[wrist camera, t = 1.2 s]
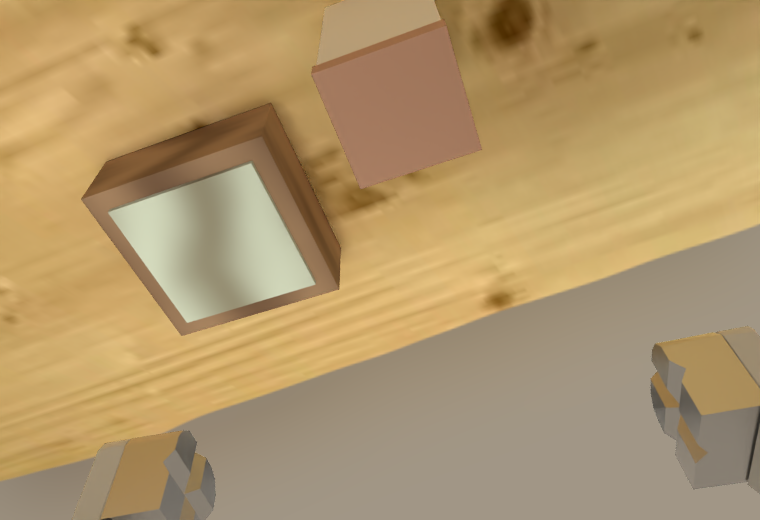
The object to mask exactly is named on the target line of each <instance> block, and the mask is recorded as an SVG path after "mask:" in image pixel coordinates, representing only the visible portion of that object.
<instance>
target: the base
mask: <svg viewBox="0 0 760 520" xmlns="http://www.w3.org/2000/svg"><path fill="white" fill-rule="evenodd" d="M81 200H82V201H83V203H84V204H85V205H86V207H87V208H88V209H89V211H90V212H91V214H92V215H93V216H94V218H95V219H96V220H97V222H98V223H99V224H100V226H101V227H102V229H103V230H104V231H105V233H106V234H107V235H108V237H109V238H110V239H111V241H112V242H113V243H114V245H115V246H116V248H117V249H118V250H119V252H120V253H121V254H122V256H123V257H124V258H125V260H126V261H127V262H128V264H129V265H130V267H131V268H132V269H133V271H134V272H135V273H136V275H137V276H138V277H139V279H140V280H141V281H142V283H143V284H144V286H145V287H146V288H147V290H148V291H149V292H150V294H151V295H152V296H153V298H154V299H155V301H156V302H157V303H158V305H159V306H160V307H161V309H162V310H163V311H164V313H165V314H166V315H167V317H168V318H169V320H170V321H171V322H172V324H173V325H174V326H175V328H176V329H177V330H178V332H179V333H180V334H181V336H183V335H187V334H190V333H193V332H197V331H200V330H203V329H207V328H210V327H214V326H217V325H220V324H224V323H227V322H230V321H234V320H237V319H241V318H244V317H247V316H251V315H254V314H258V313H261V312H264V311H268V310H271V309H274V308H278V307H281V306H285V305H288V304H291V303H295V302H298V301H301V300H305V299H308V298H312V297H315V296H318V295H322V294H325V293H328V292H332V291H335V290H339V282H340V256H341V248H340V246H339V244H338V241H337V239H336V237H335V235H334V233H333V231H332V229H331V227H330V225H329V223H328V221H327V219H326V217H325V214H324V212H323V210H322V208H321V206H320V204H319V202H318V200H317V198H316V196H315V194H314V192H313V189H312V187H311V185H310V183H309V181H308V179H307V177H306V175H305V173H304V171H303V169H302V167H301V165H300V162H299V160H298V158H297V156H296V154H295V152H294V150H293V148H292V146H291V144H290V142H289V140H288V138H287V135H286V133H285V131H284V129H283V127H282V125H281V123H280V121H279V119H278V117H277V115H276V113H275V110H274V108H273V106H272V104H271V103H269V104H267V105H264V106H261V107H258V108H255V109H253V110H250V111H247V112H244V113H241V114H239V115H236V116H233V117H230V118H227V119H225V120H222V121H219V122H216V123H213V124H211V125H208V126H205V127H202V128H199V129H197V130H194V131H191V132H188V133H186V134H183V135H180V136H177V137H174V138H172V139H169V140H166V141H163V142H160V143H158V144H155V145H152V146H149V147H146V148H144V149H141V150H138V151H135V152H132V153H130V154H127V155H124V156H121V157H118V158H116V159H113V160H110V161H107V162H106V163H105V164H104V166H103V167H102V169H101V170H100V172H99V173H98V175H97V176H96V178H95V179H94V181H93V182H92V184H91V185H90V187H89V188H88V190H87V191H86V193H85V194H84V196H83V197H82V199H81Z"/></svg>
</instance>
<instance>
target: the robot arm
mask: <svg viewBox="0 0 760 520" xmlns="http://www.w3.org/2000/svg"><path fill="white" fill-rule="evenodd" d="M652 362H653V364H654V366H655V368H656V370H657V372H656V373H655V375H654V376H653V377H652V378H651V397H652V403H653V408H654V410H655V413H656V416H657V419H658V421H659V423H660V425H661V427H662V429H663V431H664V433H665V434H667V435H668V436H670V437H672V438H673V439H675V440H676V457H677V459H678V461H679V463H680V465H681V467H682V469H683V471H684V472H685V474H686V476H687V478H688V480H689V482H690V484H691V486H692V488H693V489H698V488H706V487H714V486H720V485H728V484H735V483H743V482H748V485H749V486H750V487H751V488H753V489H754V490H756V491H757V492H758V493H760V336H759V335H758V334H757V333H756V331H755V330H754V329H752V328H751V327H749V326H745V327H740V328H735V329H729V330H724V331H719V332H716V333H707V334H702V335H697V336H692V337H687V338H681V339H676V340H672V341H666V342H661V343H656V344H655V345H654V347H653V349H652ZM196 445H197V441H196V440H195V438H194V437H193V435H192V434H191V432H190V431H184V430H183V431H177V432H170V433H164V434H157V435H151V436H144V437H138V438H132V439H128V440H122V441H115V442H109V443H105V444H104V445H103V446H102V447H101V448H100V449H99V450H98V452H97V455H96V457H95V460H94V463H93V465H92V468H91V471H90V473H89V476H88V478H87V481H86V483H85V486H84V489H83V492H82V494H81V496H80V499H79V502H78V504H77V507H76V510H75V512H74V515H73V517H72V520H205V519H206V518H207V517H208V516H209V515H210V513H211V512H212V511H213V507H214V502H215V496H216V494H215V478H214V474H213V471H212V468H211V466H210V464H209V462H208V460H207V458H205V457H203V456H201V455H199V454H197V453H195V450H196Z"/></svg>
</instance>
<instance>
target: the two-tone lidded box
mask: <svg viewBox="0 0 760 520" xmlns="http://www.w3.org/2000/svg"><path fill="white" fill-rule="evenodd" d="M311 75H312V77H313V80H314V82H315V84H316V87H317V89H318V91H319V94H320V96H321V98H322V101H323V103H324V105H325V108H326V110H327V112H328V115H329V117H330V119H331V122H332V124H333V126H334V129H335V131H336V133H337V136H338V138H339V140H340V142H341V145H342V147H343V149H344V152H345V154H346V156H347V159H348V161H349V163H350V166H351V168H352V170H353V173H354V175H355V177H356V180H357V182H358V184H359V187H360V189H362V188H366V187H369V186H372V185H375V184H378V183H381V182H384V181H387V180H390V179H393V178H396V177H399V176H403V175H406V174H409V173H412V172H415V171H418V170H421V169H424V168H427V167H430V166H433V165H436V164H440V163H443V162H446V161H449V160H452V159H455V158H458V157H461V156H464V155H467V154H470V153H473V152H477V151H480V150H482V148H481V145H480V141H479V138H478V134H477V131H476V127H475V124H474V120H473V117H472V113H471V110H470V106H469V103H468V99H467V96H466V92H465V89H464V85H463V82H462V79H461V75H460V72H459V68H458V65H457V61H456V58H455V54H454V51H453V47H452V44H451V40H450V37H449V33H448V30H447V26H446V23H445V21H444V19H442V20H441V18H440V15H439V13H438V10H437V7H436V4H435V1H434V0H344V1H341V2H339V3H336V4H333V5H331V6H328V7H325V10H324V17H323V24H322V31H321V37H320V44H319V51H318V58H317V64H316V66H313V67H312V73H311Z"/></svg>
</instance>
